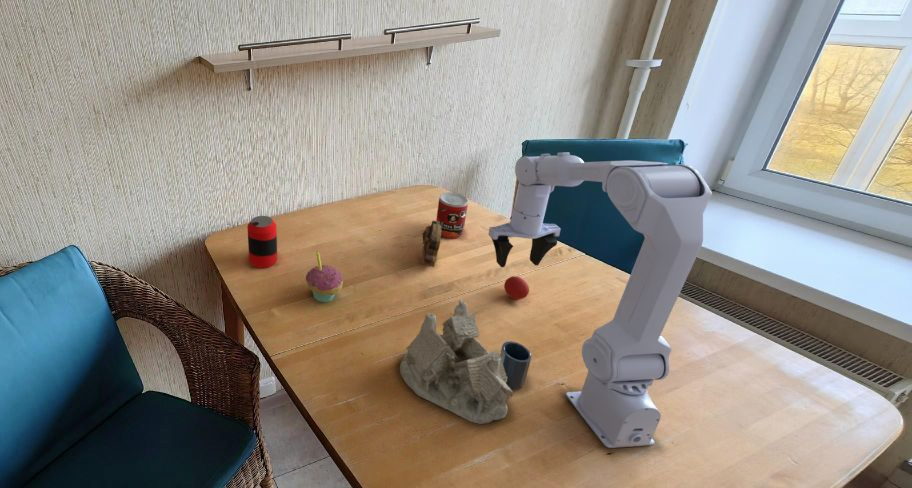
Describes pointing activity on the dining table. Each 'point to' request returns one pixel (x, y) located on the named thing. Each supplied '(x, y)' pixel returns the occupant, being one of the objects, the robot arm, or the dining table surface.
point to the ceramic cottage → (457, 369)
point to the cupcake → (324, 281)
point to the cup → (515, 363)
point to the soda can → (262, 242)
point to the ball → (516, 287)
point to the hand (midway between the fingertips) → (517, 263)
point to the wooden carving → (431, 243)
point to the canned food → (452, 214)
